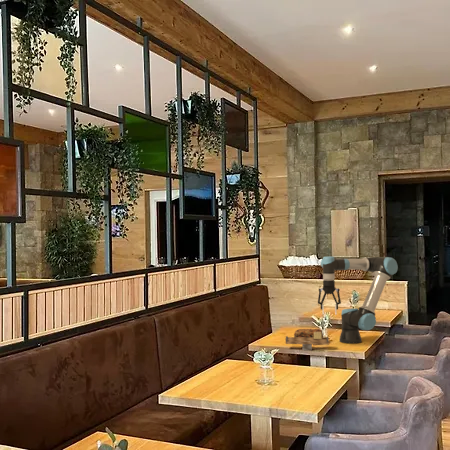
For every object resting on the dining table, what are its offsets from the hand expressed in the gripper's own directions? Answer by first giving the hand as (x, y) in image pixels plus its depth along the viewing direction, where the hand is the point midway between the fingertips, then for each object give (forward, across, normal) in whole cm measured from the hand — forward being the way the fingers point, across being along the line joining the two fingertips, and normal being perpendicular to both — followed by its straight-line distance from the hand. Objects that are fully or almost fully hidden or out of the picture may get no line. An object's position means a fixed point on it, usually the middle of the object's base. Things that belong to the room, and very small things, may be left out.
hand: (329, 314), depth 363 cm
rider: (+17, +8, 0) cm, 19 cm away
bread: (+24, +14, -20) cm, 34 cm away
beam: (+23, +15, 0) cm, 28 cm away
